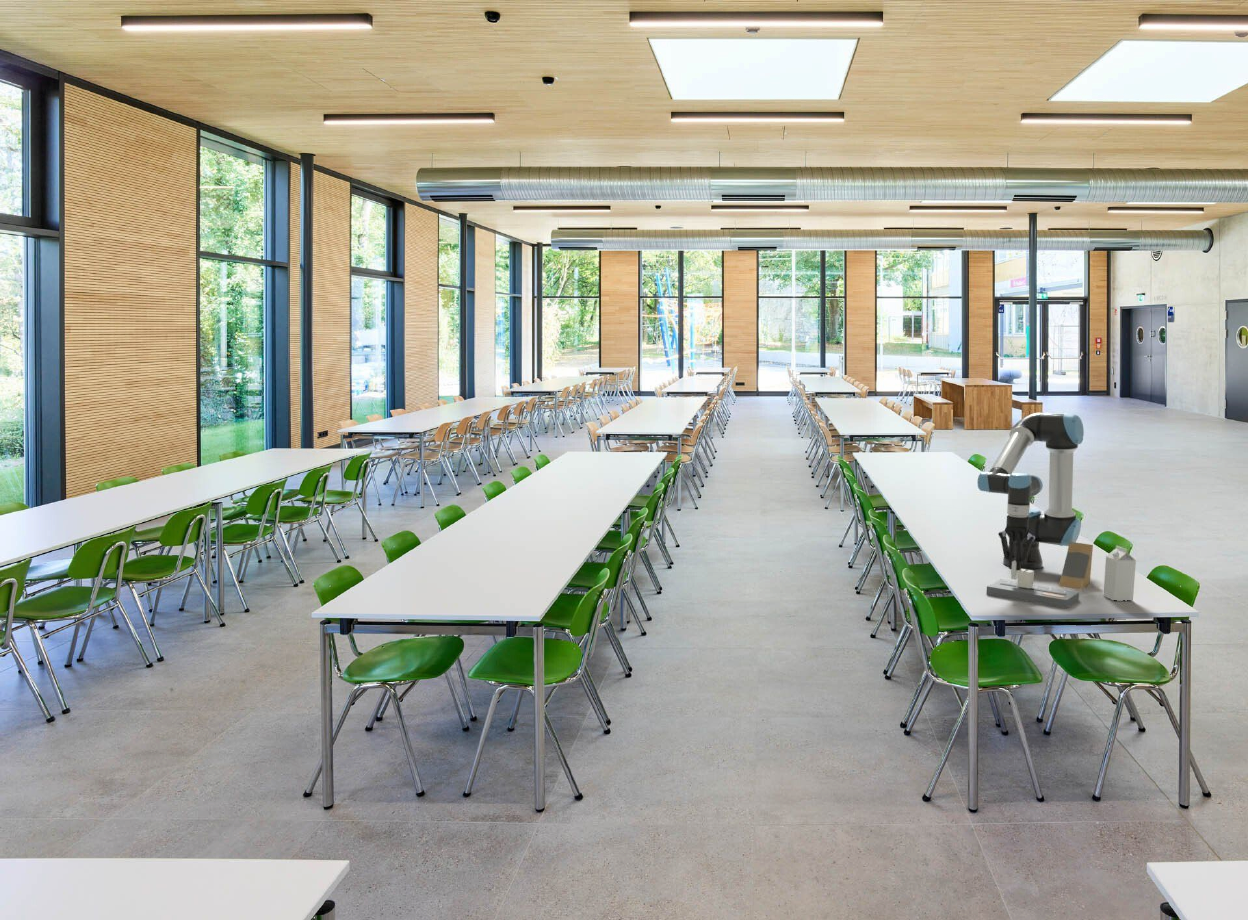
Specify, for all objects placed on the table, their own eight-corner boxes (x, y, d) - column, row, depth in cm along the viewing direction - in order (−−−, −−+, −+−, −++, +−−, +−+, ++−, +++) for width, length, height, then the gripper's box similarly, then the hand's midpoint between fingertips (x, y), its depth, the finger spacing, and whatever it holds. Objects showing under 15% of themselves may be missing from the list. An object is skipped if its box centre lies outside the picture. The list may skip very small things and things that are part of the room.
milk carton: (1122, 595, 346) (1125, 545, 344) (1133, 601, 339) (1136, 549, 337) (1103, 596, 346) (1106, 545, 344) (1113, 601, 339) (1117, 549, 336)
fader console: (1000, 586, 359) (1000, 578, 358) (1078, 600, 340) (1079, 591, 340) (986, 594, 348) (986, 585, 348) (1066, 608, 330) (1067, 599, 329)
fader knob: (1020, 584, 348) (1021, 568, 348) (1033, 586, 345) (1034, 570, 345) (1017, 586, 346) (1018, 570, 345) (1029, 588, 343) (1030, 572, 342)
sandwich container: (1057, 586, 360) (1059, 548, 358) (1066, 578, 372) (1069, 541, 370) (1082, 590, 354) (1084, 551, 353) (1090, 582, 367) (1093, 544, 365)
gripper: (996, 514, 346) (992, 577, 349) (1032, 519, 338) (1028, 583, 341) (1003, 511, 352) (1000, 573, 355) (1039, 516, 343) (1036, 579, 346)
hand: (1014, 578), depth 348 cm, fingers closed
